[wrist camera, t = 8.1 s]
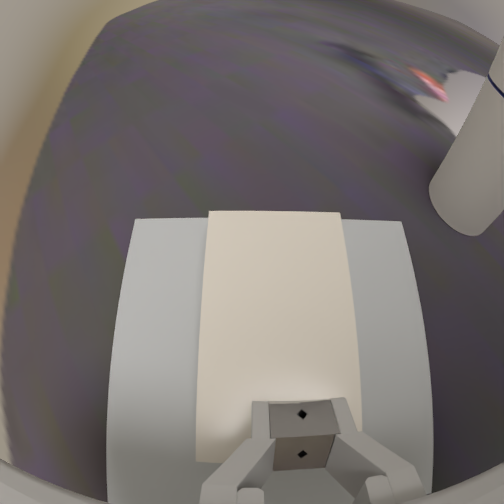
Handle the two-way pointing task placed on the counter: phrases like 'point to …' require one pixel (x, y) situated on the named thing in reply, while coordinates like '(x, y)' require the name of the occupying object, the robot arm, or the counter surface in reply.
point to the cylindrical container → (475, 162)
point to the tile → (272, 321)
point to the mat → (186, 365)
